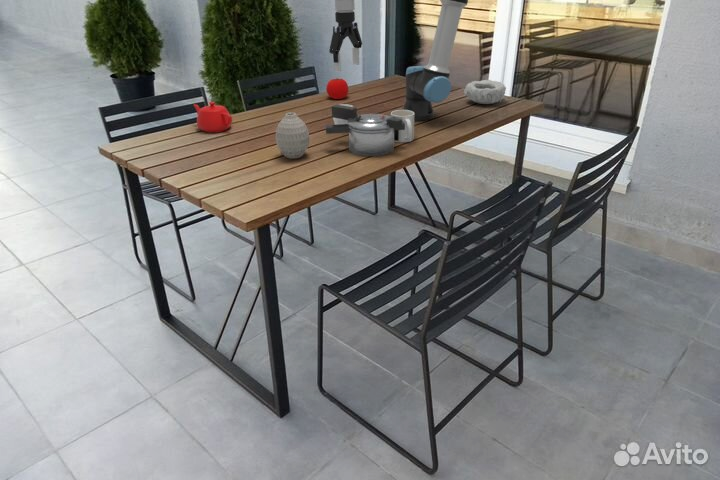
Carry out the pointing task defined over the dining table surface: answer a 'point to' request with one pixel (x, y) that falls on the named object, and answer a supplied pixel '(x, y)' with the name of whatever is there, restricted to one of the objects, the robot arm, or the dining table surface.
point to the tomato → (337, 88)
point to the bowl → (485, 91)
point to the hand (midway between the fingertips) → (347, 67)
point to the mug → (408, 119)
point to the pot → (367, 139)
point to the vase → (292, 136)
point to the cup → (341, 121)
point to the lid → (365, 119)
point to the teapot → (213, 118)
